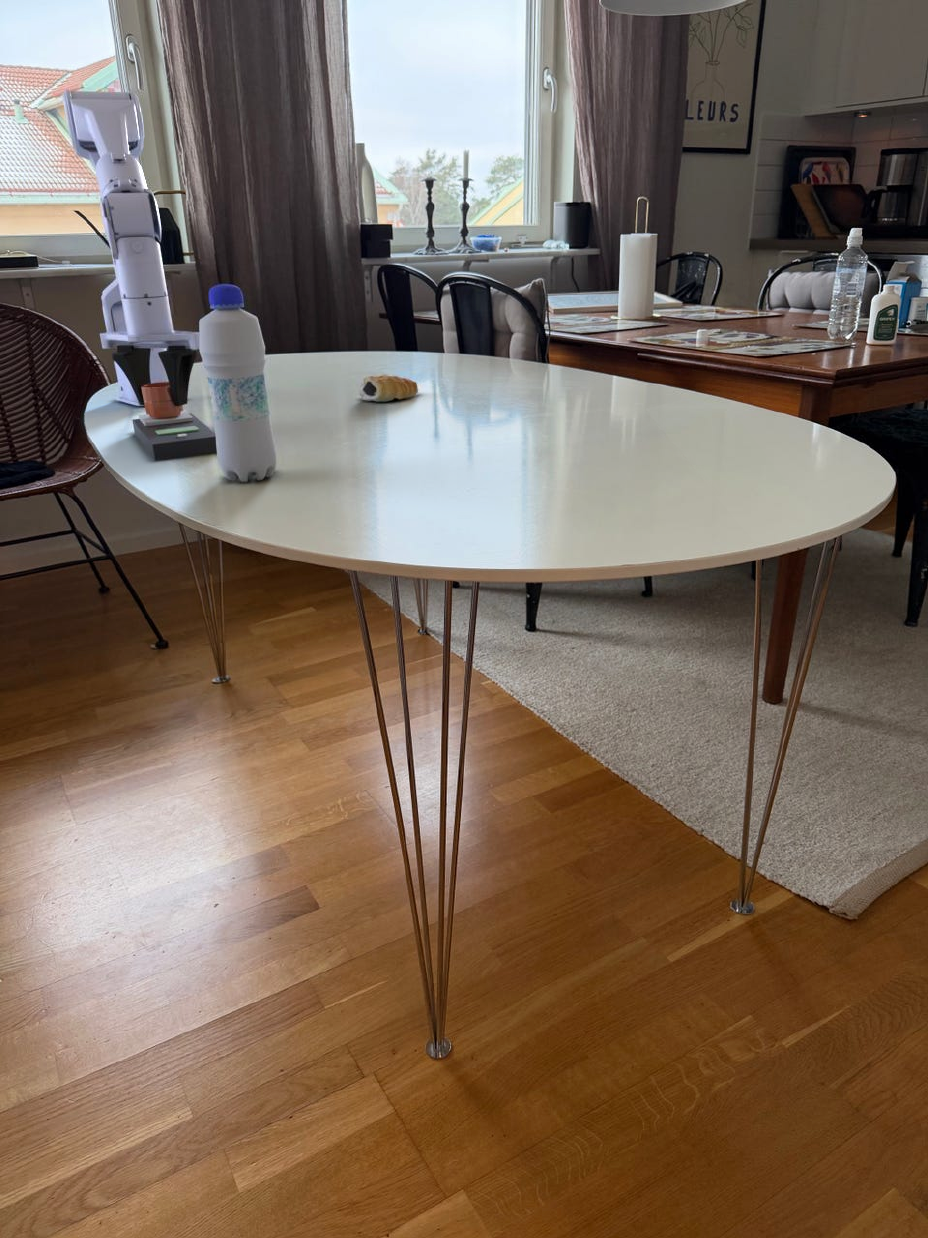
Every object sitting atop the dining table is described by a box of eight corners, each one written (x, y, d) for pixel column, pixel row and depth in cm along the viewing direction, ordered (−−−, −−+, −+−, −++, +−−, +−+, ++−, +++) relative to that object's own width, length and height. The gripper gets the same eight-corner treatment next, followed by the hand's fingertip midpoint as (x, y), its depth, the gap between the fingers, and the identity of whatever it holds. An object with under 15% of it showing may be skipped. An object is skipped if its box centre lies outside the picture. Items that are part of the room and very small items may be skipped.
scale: (134, 433, 118) (131, 415, 117) (193, 426, 121) (190, 408, 120) (155, 460, 103) (151, 440, 102) (221, 451, 106) (218, 431, 105)
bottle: (228, 469, 98) (201, 282, 90) (286, 468, 98) (264, 280, 90) (211, 485, 92) (180, 286, 84) (272, 484, 92) (247, 284, 83)
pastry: (402, 391, 142) (400, 367, 141) (428, 396, 138) (427, 371, 136) (356, 399, 137) (354, 375, 135) (382, 405, 132) (380, 379, 130)
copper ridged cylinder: (140, 415, 116) (135, 385, 114) (174, 410, 119) (168, 380, 117) (156, 419, 113) (150, 388, 111) (190, 414, 116) (185, 383, 114)
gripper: (76, 299, 108) (98, 408, 114) (174, 298, 104) (193, 411, 110) (112, 295, 114) (132, 398, 120) (207, 294, 110) (222, 401, 116)
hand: (163, 404), depth 115 cm, fingers closed on copper ridged cylinder, 5 cm apart
